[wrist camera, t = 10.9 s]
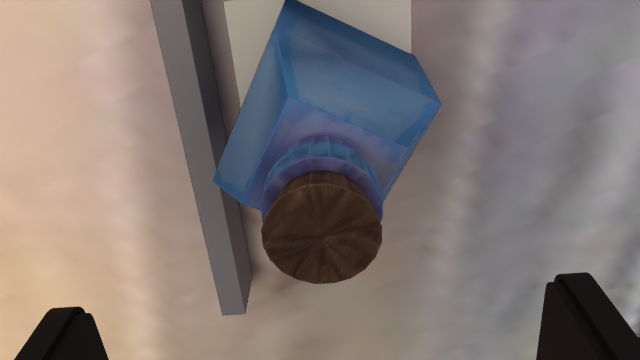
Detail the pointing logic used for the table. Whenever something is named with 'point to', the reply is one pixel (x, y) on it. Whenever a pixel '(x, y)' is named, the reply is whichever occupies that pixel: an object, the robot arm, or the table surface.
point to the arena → (205, 112)
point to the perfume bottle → (324, 141)
